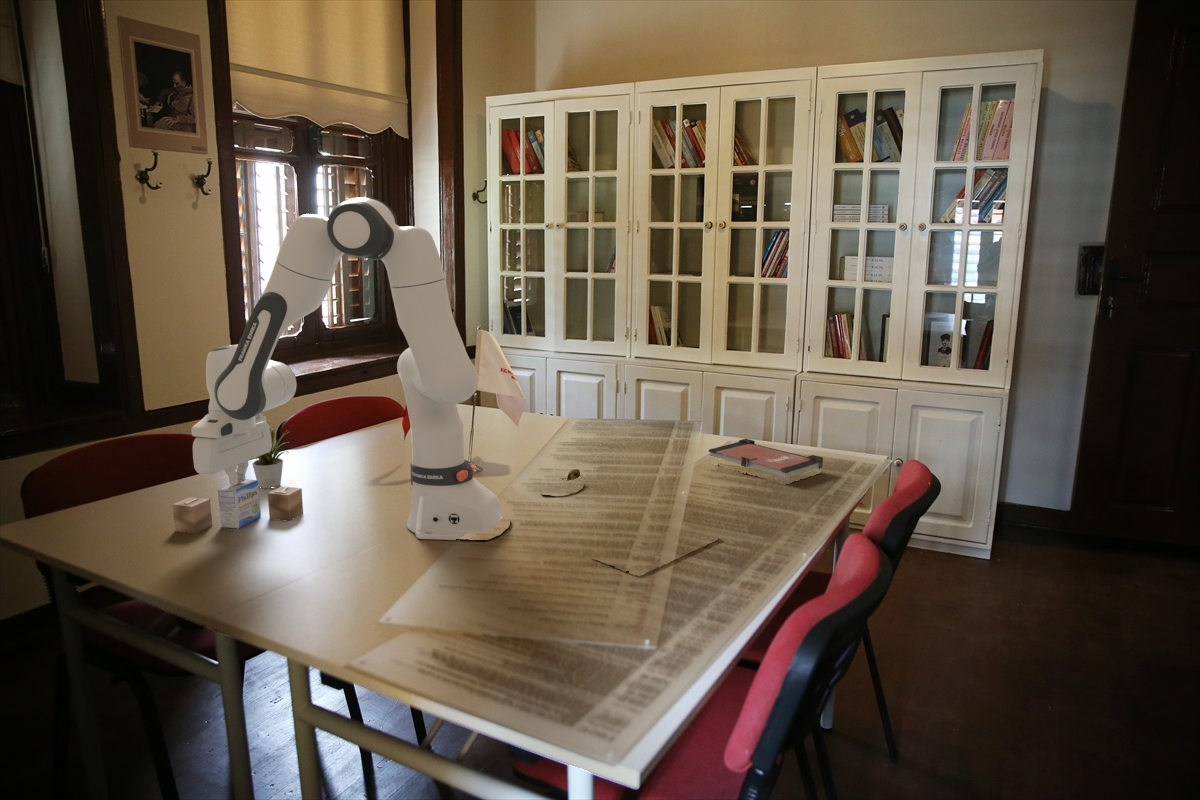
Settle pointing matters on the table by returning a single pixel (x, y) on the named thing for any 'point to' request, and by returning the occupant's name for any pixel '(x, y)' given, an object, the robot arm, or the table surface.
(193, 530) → the walnut block one
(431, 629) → the table surface
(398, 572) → the table surface
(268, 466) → the house plant
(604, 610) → the table surface
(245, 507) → the medicine box
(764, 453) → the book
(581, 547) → the table surface
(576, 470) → the seal
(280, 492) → the walnut block seven
